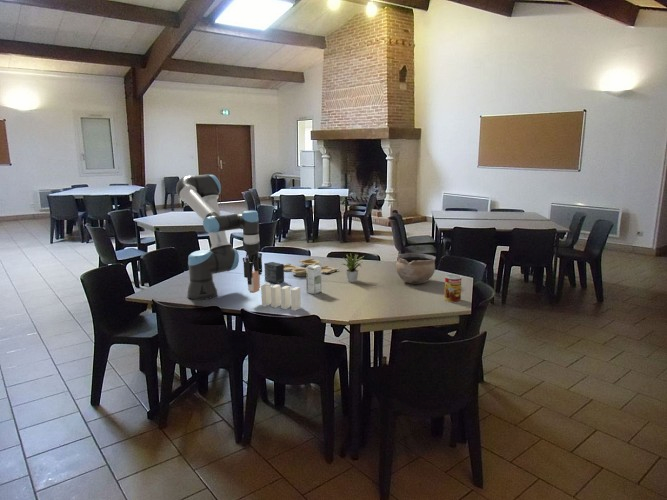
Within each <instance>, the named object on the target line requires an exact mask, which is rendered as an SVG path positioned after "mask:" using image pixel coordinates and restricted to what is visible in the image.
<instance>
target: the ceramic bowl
mask: <svg viewBox="0 0 667 500" xmlns="http://www.w3.org/2000/svg"><path fill="white" fill-rule="evenodd" d="M396 259H397V260H396V263H395V270H396V273H397V274H398V276H399V278H400V279H401V280H402V281H403V282H405V283H407V284H411V285H421V284H424V283H427V281H429V280H430V279H432V277H433V276H434V274H435V271H436V264H435V263H436V262H435V261H436V259H437V257H436V256H434V255H432V254H427V253H421V252H419V253H418V252H417V253H415V252H414V253H413V252H411V253H410V252H405V253H399V254H397V255H396Z"/></svg>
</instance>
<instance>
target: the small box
mask: <svg viewBox="0 0 667 500" xmlns="http://www.w3.org/2000/svg"><path fill="white" fill-rule="evenodd" d="M263 265H264V281H265V282H267V283H270V284H271V283H272V284H274V285H278V284H280V283H284V282H285V271H284V265H285V264H284V263H279V262H274V261H269V262H265V263H264V264H263Z"/></svg>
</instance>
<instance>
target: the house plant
mask: <svg viewBox="0 0 667 500" xmlns="http://www.w3.org/2000/svg"><path fill="white" fill-rule="evenodd" d="M349 254H350V256H349V255H348V254H346V258H345V257H343V256H342V257H343V259H344V260H345V261H346V263H341V265H343V266H346V267H347V269H345V272H346V279H347V282H349V283H357V281H358V276H359V275H358V274H359V269H357V268H358V267H361V266H362V265H363V264H362V263H363V260H364V257H365V255H363V256H360V257H358V256H359V254H357V253H355V254H354V256H353V255H352V253H351V252H350V253H349ZM359 261H362V262H359Z"/></svg>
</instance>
